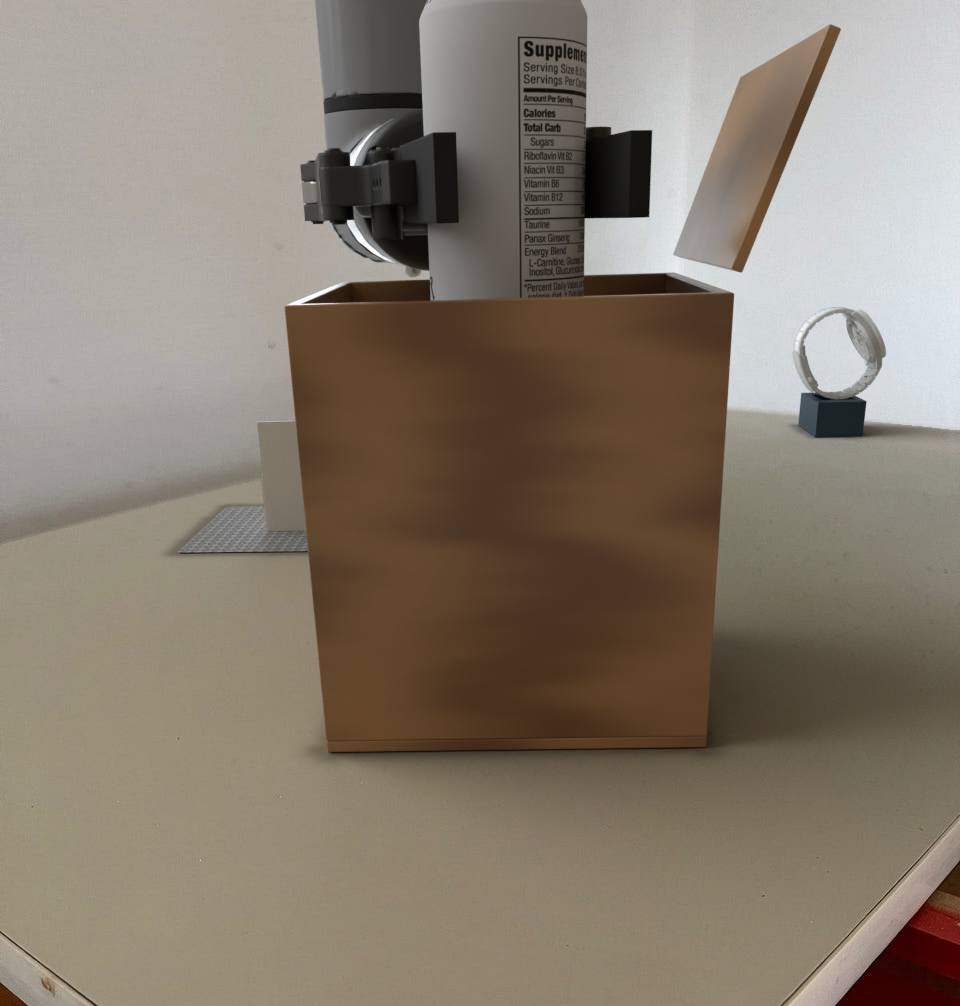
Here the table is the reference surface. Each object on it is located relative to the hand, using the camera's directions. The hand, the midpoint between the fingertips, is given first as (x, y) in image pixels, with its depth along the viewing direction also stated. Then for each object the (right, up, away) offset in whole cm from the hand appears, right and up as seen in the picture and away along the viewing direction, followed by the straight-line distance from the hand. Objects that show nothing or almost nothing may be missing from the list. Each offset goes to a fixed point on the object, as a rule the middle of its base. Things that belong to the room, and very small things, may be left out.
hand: (545, 176), depth 34 cm
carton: (-1, -17, +12) cm, 21 cm away
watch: (+31, +4, +62) cm, 70 cm away
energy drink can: (-1, -6, +8) cm, 10 cm away
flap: (+7, +2, +4) cm, 9 cm away
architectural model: (-14, -8, +37) cm, 40 cm away
